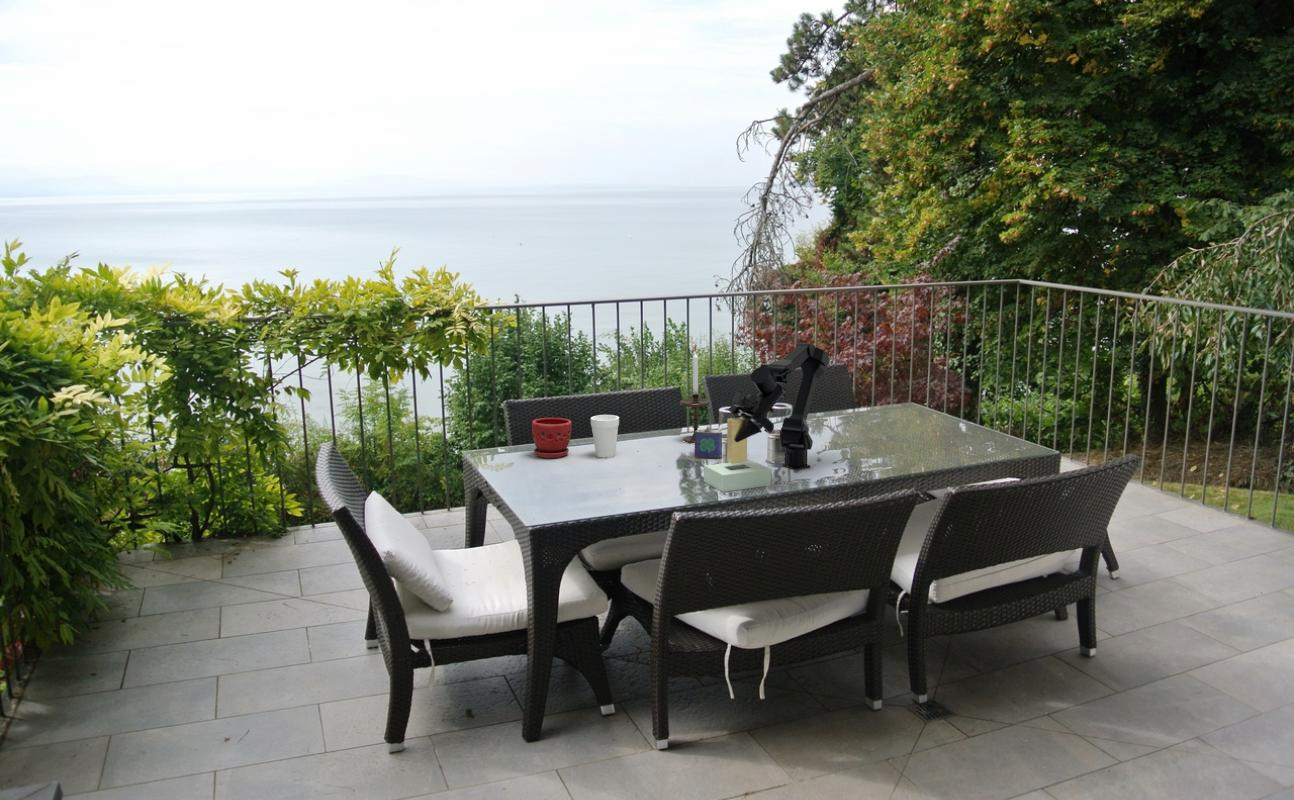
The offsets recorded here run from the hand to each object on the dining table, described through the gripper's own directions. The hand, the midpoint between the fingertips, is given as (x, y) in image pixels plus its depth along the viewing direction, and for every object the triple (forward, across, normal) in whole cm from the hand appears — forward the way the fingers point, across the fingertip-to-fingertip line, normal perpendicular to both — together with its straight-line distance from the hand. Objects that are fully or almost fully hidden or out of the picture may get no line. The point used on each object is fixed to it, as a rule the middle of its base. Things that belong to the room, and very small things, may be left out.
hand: (733, 440), depth 280 cm
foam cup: (+25, -49, -6) cm, 55 cm away
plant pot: (+36, -58, -17) cm, 70 cm away
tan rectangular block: (+4, 0, +6) cm, 7 cm away
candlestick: (0, -55, +20) cm, 59 cm away
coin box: (+8, 0, +10) cm, 13 cm away
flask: (+4, -32, +15) cm, 35 cm away
